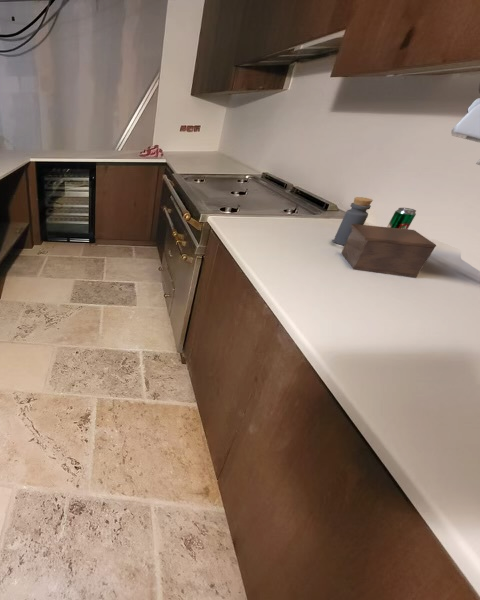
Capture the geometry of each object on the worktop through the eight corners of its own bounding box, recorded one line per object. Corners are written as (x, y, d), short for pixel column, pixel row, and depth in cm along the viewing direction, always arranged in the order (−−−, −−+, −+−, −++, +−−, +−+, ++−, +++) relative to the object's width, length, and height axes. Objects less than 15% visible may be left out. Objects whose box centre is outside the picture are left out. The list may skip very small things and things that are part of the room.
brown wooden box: (353, 269, 93) (367, 240, 89) (341, 253, 103) (353, 226, 99) (416, 277, 89) (434, 248, 84) (396, 259, 99) (412, 232, 94)
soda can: (380, 240, 113) (398, 206, 106) (398, 244, 110) (418, 209, 103) (377, 244, 110) (396, 209, 103) (397, 248, 107) (417, 212, 100)
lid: (364, 240, 89) (365, 237, 88) (350, 226, 99) (351, 223, 98) (434, 247, 84) (436, 245, 84) (412, 232, 94) (414, 229, 94)
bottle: (330, 242, 111) (350, 198, 103) (336, 238, 114) (355, 195, 106) (351, 247, 107) (372, 202, 99) (355, 243, 110) (377, 199, 102)
